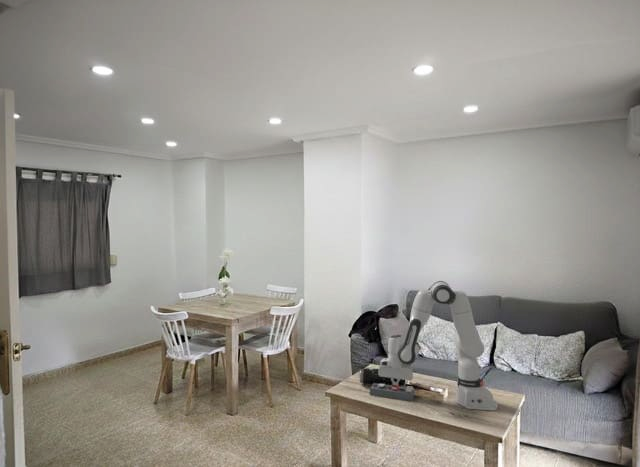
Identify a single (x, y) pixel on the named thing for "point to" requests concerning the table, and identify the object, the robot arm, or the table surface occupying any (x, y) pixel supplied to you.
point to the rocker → (409, 389)
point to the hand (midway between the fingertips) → (395, 385)
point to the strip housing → (392, 392)
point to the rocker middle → (395, 387)
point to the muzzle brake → (376, 377)
